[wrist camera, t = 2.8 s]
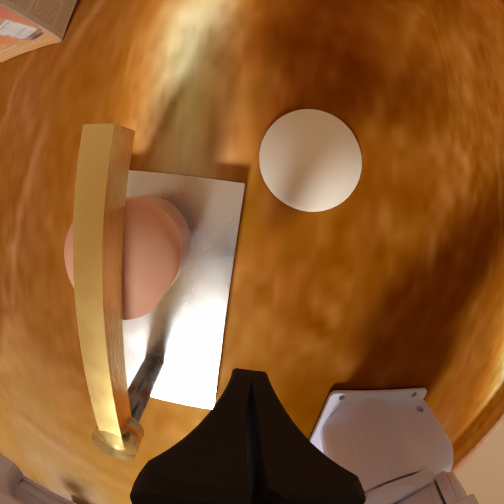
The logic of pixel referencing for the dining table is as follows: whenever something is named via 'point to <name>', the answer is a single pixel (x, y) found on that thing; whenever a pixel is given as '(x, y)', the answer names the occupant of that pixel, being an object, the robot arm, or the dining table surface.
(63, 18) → the small box
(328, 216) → the dining table surface
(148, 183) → the plate
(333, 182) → the coaster
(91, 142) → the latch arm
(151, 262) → the cap
